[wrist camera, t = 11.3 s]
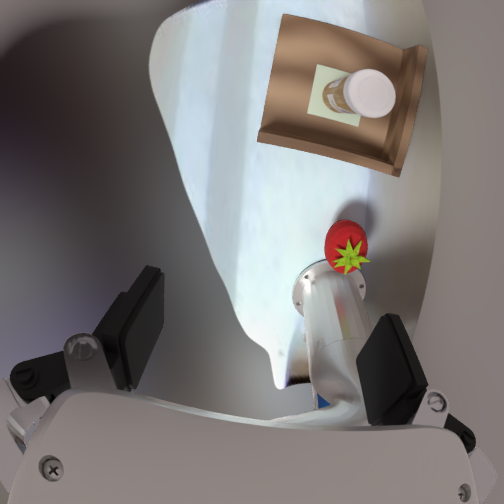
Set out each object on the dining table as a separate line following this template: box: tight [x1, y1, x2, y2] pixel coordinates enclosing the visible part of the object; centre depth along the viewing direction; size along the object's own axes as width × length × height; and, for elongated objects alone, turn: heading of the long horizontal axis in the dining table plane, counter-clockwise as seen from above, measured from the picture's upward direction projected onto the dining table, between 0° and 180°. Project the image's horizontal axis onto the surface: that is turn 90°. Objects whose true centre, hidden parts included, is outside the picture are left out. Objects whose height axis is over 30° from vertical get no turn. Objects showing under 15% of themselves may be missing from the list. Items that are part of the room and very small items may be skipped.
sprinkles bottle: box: [322, 69, 396, 118], centre depth 25 cm, size 5×5×13 cm
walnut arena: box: [257, 14, 427, 177], centre depth 29 cm, size 18×18×6 cm
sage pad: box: [307, 64, 361, 127], centre depth 31 cm, size 7×7×1 cm
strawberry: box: [324, 219, 371, 275], centre depth 37 cm, size 6×8×10 cm
